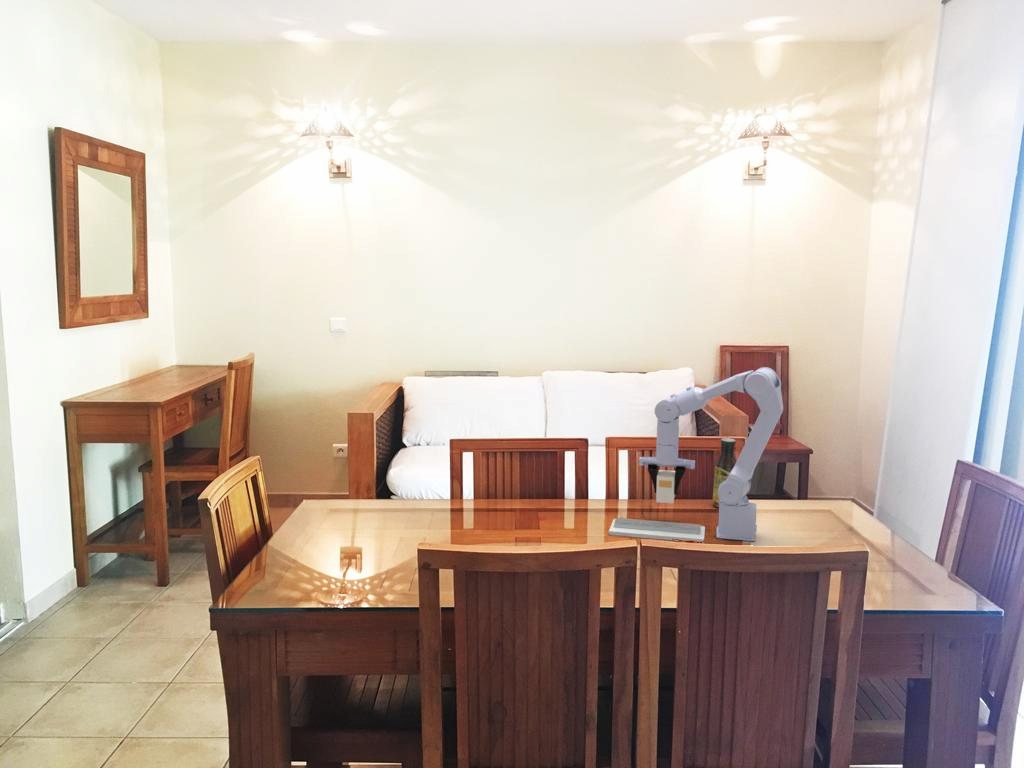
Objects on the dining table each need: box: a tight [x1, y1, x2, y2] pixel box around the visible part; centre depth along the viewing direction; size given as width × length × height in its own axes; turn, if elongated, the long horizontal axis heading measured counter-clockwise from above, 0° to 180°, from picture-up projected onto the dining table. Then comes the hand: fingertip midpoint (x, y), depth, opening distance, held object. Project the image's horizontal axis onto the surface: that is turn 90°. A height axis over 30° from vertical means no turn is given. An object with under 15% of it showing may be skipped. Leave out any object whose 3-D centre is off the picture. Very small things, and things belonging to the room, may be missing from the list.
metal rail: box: [614, 517, 702, 535], centre depth 207 cm, size 22×4×2 cm, turn 75°
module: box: [655, 469, 676, 504], centre depth 213 cm, size 4×7×7 cm, turn 165°
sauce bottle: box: [712, 437, 737, 508], centre depth 227 cm, size 7×6×20 cm
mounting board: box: [608, 518, 706, 544], centre depth 207 cm, size 24×10×1 cm, turn 75°
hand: (665, 492), depth 213 cm, fingers closed on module, 4 cm apart
